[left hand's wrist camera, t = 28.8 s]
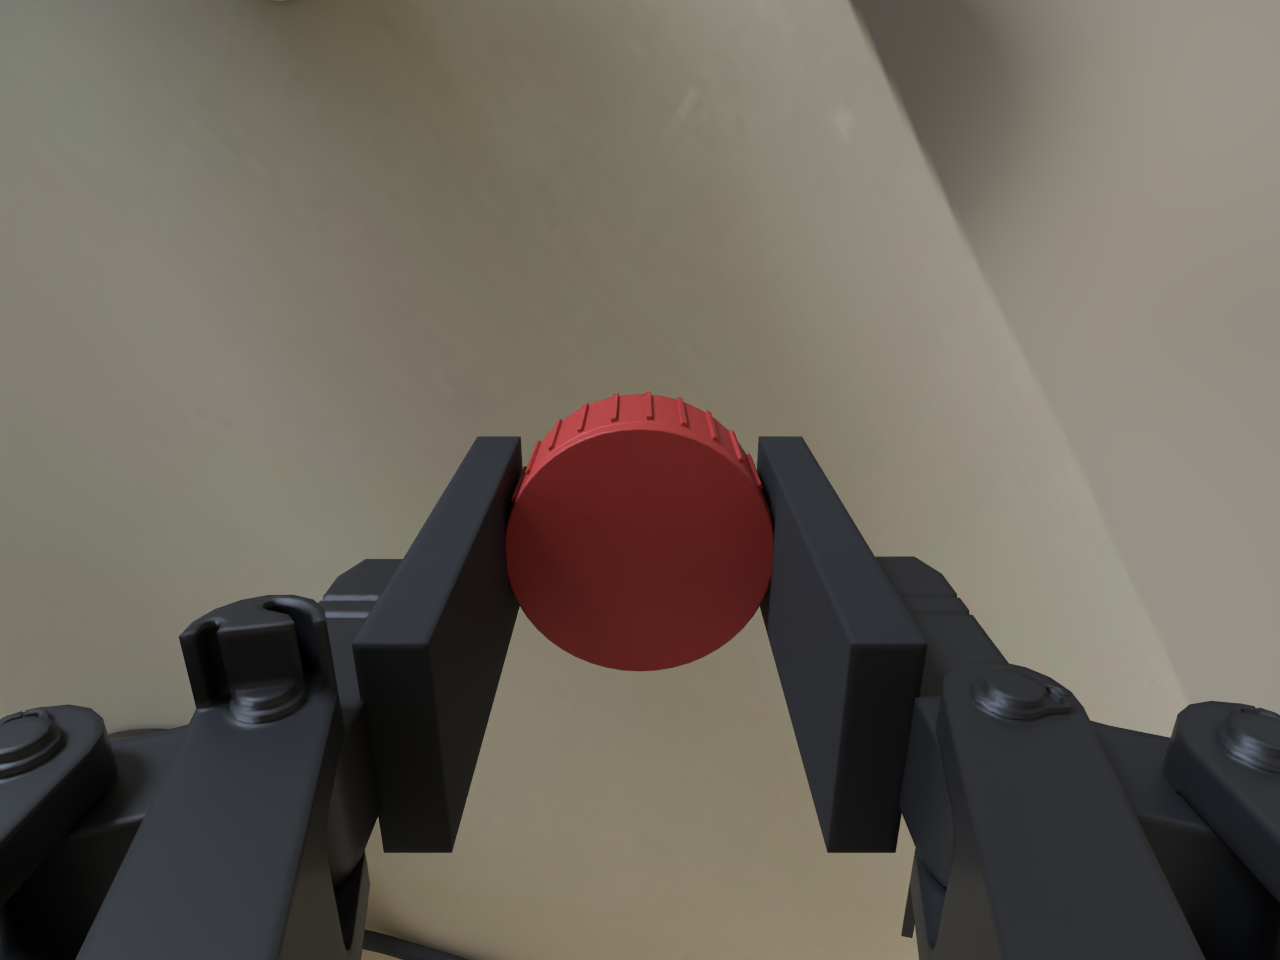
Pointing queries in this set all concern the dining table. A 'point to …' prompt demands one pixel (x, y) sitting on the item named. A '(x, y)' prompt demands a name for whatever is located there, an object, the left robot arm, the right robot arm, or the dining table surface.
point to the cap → (639, 534)
